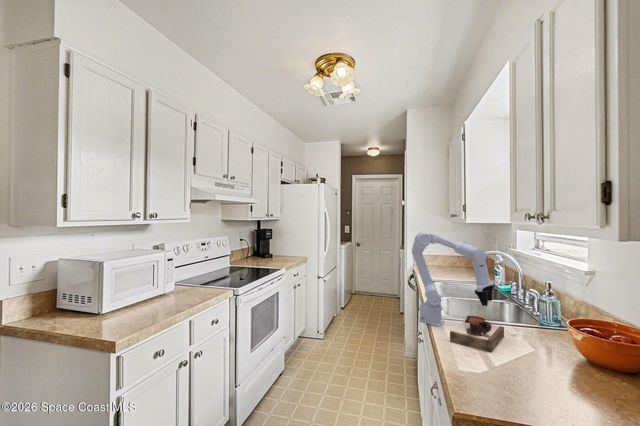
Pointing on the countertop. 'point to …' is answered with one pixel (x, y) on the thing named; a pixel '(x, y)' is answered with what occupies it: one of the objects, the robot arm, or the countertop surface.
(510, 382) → the countertop surface
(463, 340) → the walnut corner walls
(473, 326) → the pottery mug
